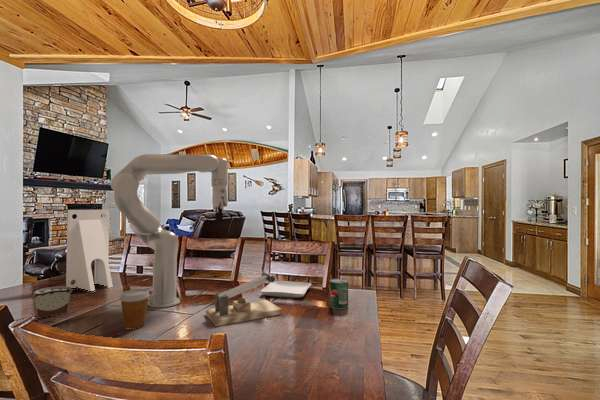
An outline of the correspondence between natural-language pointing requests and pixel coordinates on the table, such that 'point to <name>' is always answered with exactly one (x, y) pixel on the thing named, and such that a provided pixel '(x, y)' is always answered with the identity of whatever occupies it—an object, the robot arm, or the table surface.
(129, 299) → the disposable coffee cup
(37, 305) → the food container
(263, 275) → the press lever
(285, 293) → the salad plate
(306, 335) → the table surface
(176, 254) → the robot arm
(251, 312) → the press base
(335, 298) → the canned tomato
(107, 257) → the white arched stand
